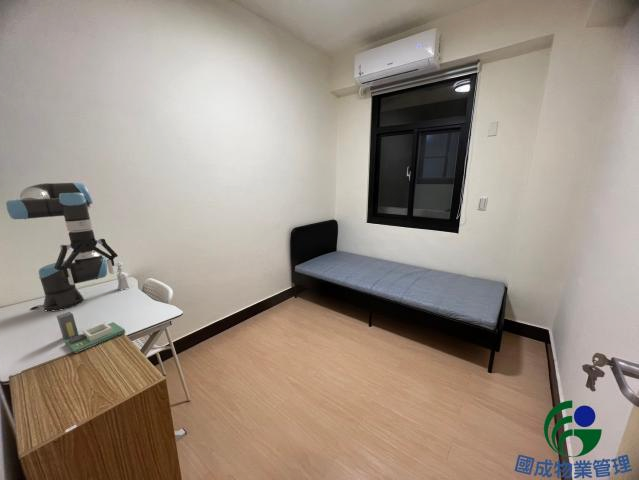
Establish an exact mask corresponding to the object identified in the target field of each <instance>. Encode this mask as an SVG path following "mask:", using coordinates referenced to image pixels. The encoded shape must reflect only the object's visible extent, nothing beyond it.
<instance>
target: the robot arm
mask: <svg viewBox="0 0 639 480" xmlns="http://www.w3.org/2000/svg"><path fill="white" fill-rule="evenodd" d="M92 204H93V200H92V196H91V193H90V192H89V190H88V188H87V186H86V185H85V183H82V182H55V183H52V182H50V183H48V182H47V183H46V182H45V183H39V184H33V185H31V186H28V187H25V188H24V189H22V191H21V192H20V194H19V199H11V200H7V201H6V203H5V205H6V210H7V213H8V215H9V217H10V219H12V220H28V219H29V220H30V219H38V218H41V219H42V218H52V217H63V218H64V221H65V226H66V229H67V231H68V237H69V240H70V244H61V245H60V252H59V254H58V257H57V259H56V262H53V263H52V262H51V263H49V264H47V265H45V266H42V267H41V268H39V270H38V276H39V277H38V278H39V280H40V283H41V286H42V289H43V293H44V301H43V310H44V311H45V310H47V311H46V312H48V311H51V312H53V311H52V310H58V311H61V310H60V309H63V310H66V309H65V308H67V309H70V308H72V306H73V307H75V306H78V305H79V303H80V304H82V303H83V302H84V296H83V294H82V293H81V292H80V291H79V290H78V288H77V287H76V284H79V283H84V282H88V281H94V280H99V279H103V278H105V277H106V276H107V275H108V273H109V274H111V275H114V274H115V273H114V272H115V271H114V268H113V267H115V266H114V265H115V260H114V259H115V258H117V257H118V256H119V255H118V254H117V252H115V251H114V250H113V249H112V248H111V247H110V246H109V244H108V243H107V241H106V239H105V238H99V239H97V240H96V238H95V233H94V230H93V226H92V220H91V217H90V212H89V210H90V208H91V205H92ZM97 244H99V245H100V246H102V247H103V248H104V249H105V250H106V252H105V251H103V250H102V249H100V248H99V247H97ZM70 248H71V249H72V252H71V253H70V254H69V256H68V258H66V256H67V253H68V251H70ZM107 252H108V253H107ZM65 258H66V260H65ZM82 301H83V302H82ZM77 304H78V305H77ZM69 307H70V308H69Z"/></svg>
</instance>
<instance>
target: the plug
mask: <svg viewBox="0 0 639 480" xmlns="http://www.w3.org/2000/svg"><path fill="white" fill-rule="evenodd" d="M56 318H57V322H58V325H59V326H58V327H59V328H60V332H61V336H62V338H63V339H64V340H65V341H66V340H69V339H70V338H73V337H75V336H78V335H80V334H79V332H78V327H77V324H76V321H75V316H74V314H73V313H72V312H71V311H68V312H64V313H61V314H59V315H56Z"/></svg>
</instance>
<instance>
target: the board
mask: <svg viewBox="0 0 639 480" xmlns="http://www.w3.org/2000/svg"><path fill="white" fill-rule="evenodd" d="M125 333H126V330H125V328H123V327H121V326H120V325H118V324H117V323H115V322H110V323H106V322H102V323H100V324H99V323H98V324H97V325H95V326H92V327H89V328H86V329H84V330H82V333H81V334H79V335H78V336H75V337H73V338H70V339H68V340H65V341H64V344H65V346H66V347H67V348H68V349H69V350H71V352H72V353H73V352H78V351H79V350H82V349H85V348H87V347H89V346H92V345H94V344H97V343H100V342H102V341H104V340H107V339H109V340H111V339H110V338H112V337H114V336H116V337H118V336H117V335H119V336H120V334H121V335H123V334H125ZM114 338H115V337H114ZM112 339H113V338H112ZM107 341H108V340H107ZM102 343H103V342H102ZM100 344H101V343H100Z"/></svg>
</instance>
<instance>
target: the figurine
mask: <svg viewBox="0 0 639 480" xmlns="http://www.w3.org/2000/svg"><path fill="white" fill-rule="evenodd" d="M123 264H124V262H121V261H120V260H117V262H116V263H114V266H113V267H117V270H115V271H113V272H114V274H115V273H117V275H116V276H117V277H116V279H117V282H118V284H117V285H118V286H117V289H126V288H130V287H131V286H132V287H134V284H133V283H132V281H130V278H129V273H127V272H124V271H123ZM132 287H131V288H132ZM131 288H130V289H131ZM126 290H127V289H126Z"/></svg>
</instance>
